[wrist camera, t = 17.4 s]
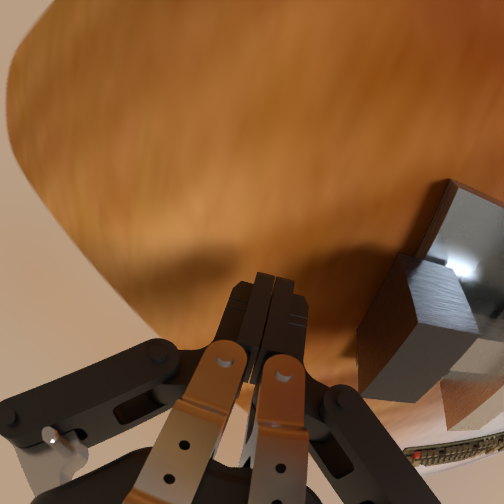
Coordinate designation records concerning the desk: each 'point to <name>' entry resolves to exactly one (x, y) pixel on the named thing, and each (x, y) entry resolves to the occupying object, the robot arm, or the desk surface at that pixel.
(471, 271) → the vise base
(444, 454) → the keyboard
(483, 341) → the free jaw
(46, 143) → the desk surface
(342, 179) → the desk surface
